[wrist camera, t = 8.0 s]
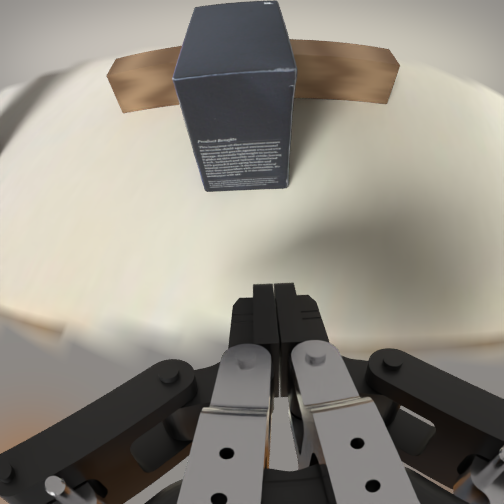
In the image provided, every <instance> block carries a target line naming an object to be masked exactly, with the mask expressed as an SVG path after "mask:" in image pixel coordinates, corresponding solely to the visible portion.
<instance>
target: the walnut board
mask: <svg viewBox="0 0 504 504" xmlns="http://www.w3.org/2000/svg"><path fill="white" fill-rule="evenodd" d="M289 40H290V43H291V47H292V50H293V54H294V58H295V62H296V66H297V69H298V70H297V81H296V87H295V95H294V98H317V99H337V100H352V101H363V102H374V103H383V104H387V102H388V99H389V96H390V93H391V90H392V87H393V85H394V82H395V79H396V76H397V73H398V70H399V67H400V65H399V63H398V62H397V60H396V59H395V57H394V56H393V54H392V53H391V52H390V50H389V49H384V48H378V47H372V46H365V45H358V44H350V43H340V42H329V41H316V40H293V39H289ZM181 48H182V46H178V47H171V48H165V49H160V50H154V51H149V52H144V53H139V54H135V55H130V56H126V57H122V58H118V59H116V60H115V62H114V63H113V65H112V67H111V69H110V70H109V72H108V74H107V78H108V80H109V82H110V85H111V87H112V89H113V92H114V94H115V96H116V98H117V101H118V103H119V105H120V107H121V110H122V112H123V113H127V112H133V111H138V110H144V109H150V108H157V107H164V106H171V105H179V104H180V103H179V100H178V97H177V94H176V90H175V86H174V83H173V80H172V77H173V74H174V71H175V67H176V64H177V61H178V57H179V54H180V51H181Z"/></svg>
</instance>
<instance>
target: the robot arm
mask: <svg viewBox="0 0 504 504" xmlns="http://www.w3.org/2000/svg"><path fill="white" fill-rule="evenodd" d="M279 382H280V394H281V397H288V401H289V413H288V415H289V421H290V426H291V431H292V436H293V441H294V445H295V451H296V455H297V461H298V470H297V471H290V472H289V471H281V470H274V469H269V459H270V458H269V457H270V442H271V441H270V440H271V422H272V413H273V410H274V397H279ZM401 405H402V406H404V407H405V408H407V409H409V410H411V411H413V412H414V413H416V414H418V415H420V416H422V417H424V418H426V419H427V420H429V421H431V422H432V423H433V424H434V426H435V427H433V426H430V425H429V424H427V423H425V422H423V421H421V420H419V419H418V418H416V417H414V416H412V415H410V414H408V413H407V412H405V411H403V410H401V409H400V406H401ZM187 456H189V458H188V462H187V466H186V470H185V474H184V478H183V479H182V480H179V481H177V482H175V483H173V484H171V485H169V486H168V487H166V488H164V489H163V490H161V491H160V492H159V493H157V494H156V495H155V496H154V497H152V498H151V499H150V500H149V501H147V502H146V503H145V504H504V399H502V398H500V397H498V396H496V395H493V394H491V393H489V392H487V391H485V390H483V389H481V388H478V387H476V386H474V385H472V384H470V383H468V382H466V381H463V380H461V379H459V378H457V377H455V376H453V375H451V374H449V373H447V372H445V371H442V370H440V369H438V368H436V367H434V366H432V365H430V364H428V363H426V362H424V361H422V360H420V359H418V358H416V357H413V356H411V355H409V354H407V353H405V352H403V351H401V350H398V349H391V348H387V349H381V350H378V351H376V352H374V353H373V354H372V355H371V356H370V358H369V361H364V360H355V359H349V358H346V357H343V356H341V354H340V352H339V351H338V349H337V348H336V347H335V346H334V345H332V344H330V343H329V339H328V336H327V333H326V330H325V327H324V324H323V321H322V319H321V315H320V312H319V309H318V306H317V303H316V301H315V300H313V299H312V298H311V297H310V296H309V295H296V291H295V287H294V283H275V284H274V292H273V284H253V298H239V299H238V300H237V301H236V303H235V304H234V305H233V310H232V319H231V328H230V337H229V347H228V350H226V351H225V352H224V354H223V355H222V358H221V361H220V362H219V363H217V364H215V365H213V366H210V367H207V368H203V369H198V370H193V368H192V366H191V365H190V364H188V363H187V362H185V361H182V360H176V359H171V360H164V361H161V362H158V363H156V364H155V365H153V366H151V367H150V368H148V369H147V370H145V371H143V372H142V373H140V374H138V375H137V376H135V377H134V378H132V379H131V380H129V381H127V382H126V383H124V384H122V385H121V386H119V387H117V388H116V389H114V390H113V391H111V392H109V393H107V394H106V395H104V396H103V397H101V398H99V399H98V400H96V401H94V402H93V403H91V404H89V405H87V406H86V407H84V408H82V409H81V410H79V411H77V412H75V413H74V414H72V415H70V416H69V417H67V418H65V419H63V420H62V421H60V422H58V423H56V424H55V425H53V426H51V427H49V428H48V429H46V430H44V431H42V432H41V433H38V434H37V435H35V436H33V437H31V438H30V439H28V440H26V441H24V442H22V443H20V444H18V445H17V446H15V447H13V448H11V449H9V450H7V451H5V452H3V453H1V454H0V497H1V498H3V499H4V500H5V501H6V502H8V503H9V504H123V503H125V502H126V501H128V500H129V499H131V498H132V497H134V496H135V495H136V494H138V493H139V492H141V491H142V490H144V489H145V488H147V487H148V486H149V485H151V484H152V483H154V482H155V481H156V480H158V479H159V478H160V477H162V476H163V475H164V474H165V473H167V472H168V471H170V470H171V469H172V468H173V467H175V466H176V465H177V464H179V463H180V462H181V461H182V460H184V459H185V458H186V457H187ZM402 462H404V463H406V464H407V465H409V466H411V467H413V468H414V469H416V470H418V471H420V472H421V473H423V474H425V475H427V476H428V477H430V478H432V479H434V480H436V481H438V482H439V483H441V484H443V485H445V486H447V487H449V488H451V489H453V494H452V493H450V492H448V491H447V490H445V489H443V488H441V487H440V486H438V485H436V484H435V483H433V482H431V481H429V480H428V479H426V478H425V477H423V476H421V475H420V474H418V473H416V472H415V471H413V470H411V469H409V468H406V467H404V466H403V464H402Z"/></svg>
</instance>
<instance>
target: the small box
mask: <svg viewBox="0 0 504 504" xmlns="http://www.w3.org/2000/svg"><path fill="white" fill-rule="evenodd" d="M297 70H298V69H297V66H296V62H295V58H294V54H293V50H292V47H291V43H290V40H289V36H288V32H287V29H286V26H285V23H284V20H283V16H282V13H281V10H280V7H279V4H278V2H277V1H253V2H237V3H226V4H216V5H208V6H200V7H195V9H194V12H193V14H192V17H191V21H190V23H189V26H188V29H187V33H186V36H185V39H184V42H183V45H182V48H181V51H180V54H179V57H178V61H177V64H176V67H175V71H174V74H173V77H172V80H173V83H174V86H175V90H176V94H177V97H178V100H179V103H180V107H181V110H182V114H183V117H184V121H185V124H186V128H187V131H188V135H189V138H190V141H191V145H192V148H193V152H194V155H195V158H196V162H197V165H198V168H199V172H200V175H201V179H202V182H203V185H204V189H205V191H207V192H213V191H233V190H256V189H283V188H287V187H288V185H289V161H290V144H291V132H292V113H293V105H294V95H295V87H296V81H297Z"/></svg>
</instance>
